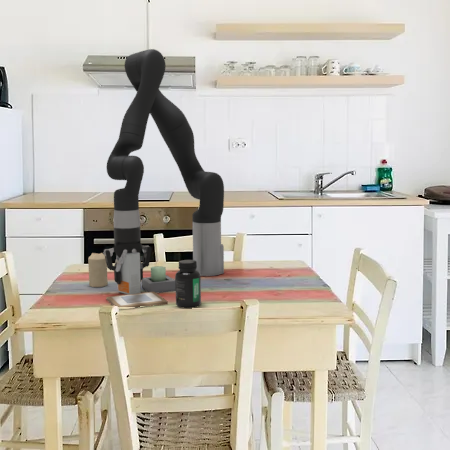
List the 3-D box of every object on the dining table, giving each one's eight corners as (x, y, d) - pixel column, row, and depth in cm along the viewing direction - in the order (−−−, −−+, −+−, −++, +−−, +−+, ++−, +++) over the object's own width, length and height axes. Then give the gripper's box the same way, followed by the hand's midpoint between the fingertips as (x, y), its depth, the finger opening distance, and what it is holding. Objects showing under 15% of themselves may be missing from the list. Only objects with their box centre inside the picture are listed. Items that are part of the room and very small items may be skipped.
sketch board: (154, 294, 193) (154, 290, 193) (167, 304, 182) (167, 300, 182) (106, 299, 187) (106, 296, 187) (117, 310, 177) (117, 306, 176)
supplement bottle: (203, 307, 179) (202, 263, 177) (177, 309, 177) (176, 264, 176) (198, 300, 185) (198, 258, 184) (174, 302, 184) (173, 259, 182)
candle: (108, 282, 207) (107, 251, 206) (106, 287, 202) (105, 254, 200) (90, 283, 207) (89, 251, 206) (87, 287, 202) (86, 255, 200)
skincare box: (116, 292, 196) (115, 252, 194) (128, 289, 199) (127, 249, 197) (130, 295, 192) (128, 254, 190) (141, 292, 195) (140, 252, 193)
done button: (163, 279, 201) (162, 265, 201) (167, 283, 197) (167, 268, 197) (149, 281, 200) (148, 267, 199) (153, 284, 196) (153, 269, 195)
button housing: (167, 284, 204) (166, 275, 204) (175, 290, 197) (175, 280, 196) (141, 287, 201) (141, 277, 200) (149, 293, 194) (149, 283, 193)
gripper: (147, 221, 198) (148, 277, 201) (99, 225, 193) (101, 282, 195) (154, 225, 192) (156, 282, 194) (105, 228, 186) (107, 288, 189)
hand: (128, 282), depth 195 cm, fingers closed on skincare box, 5 cm apart
